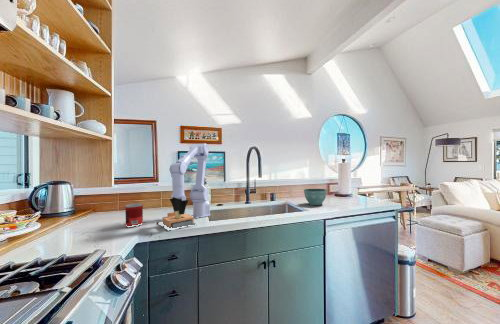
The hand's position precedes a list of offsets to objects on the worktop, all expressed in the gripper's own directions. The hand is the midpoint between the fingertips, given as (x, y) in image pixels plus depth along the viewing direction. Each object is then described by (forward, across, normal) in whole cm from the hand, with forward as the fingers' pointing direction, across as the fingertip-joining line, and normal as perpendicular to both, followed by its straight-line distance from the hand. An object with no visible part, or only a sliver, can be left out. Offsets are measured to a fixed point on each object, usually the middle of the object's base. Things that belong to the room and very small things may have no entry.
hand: (179, 213), depth 108 cm
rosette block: (+7, -4, 0) cm, 8 cm away
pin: (+6, 0, 0) cm, 6 cm away
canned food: (+7, -18, -17) cm, 26 cm away
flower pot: (+7, +16, +96) cm, 98 cm away
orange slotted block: (+6, -1, 0) cm, 6 cm away
